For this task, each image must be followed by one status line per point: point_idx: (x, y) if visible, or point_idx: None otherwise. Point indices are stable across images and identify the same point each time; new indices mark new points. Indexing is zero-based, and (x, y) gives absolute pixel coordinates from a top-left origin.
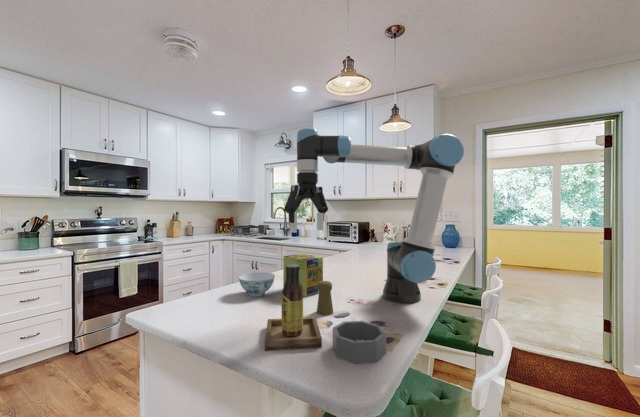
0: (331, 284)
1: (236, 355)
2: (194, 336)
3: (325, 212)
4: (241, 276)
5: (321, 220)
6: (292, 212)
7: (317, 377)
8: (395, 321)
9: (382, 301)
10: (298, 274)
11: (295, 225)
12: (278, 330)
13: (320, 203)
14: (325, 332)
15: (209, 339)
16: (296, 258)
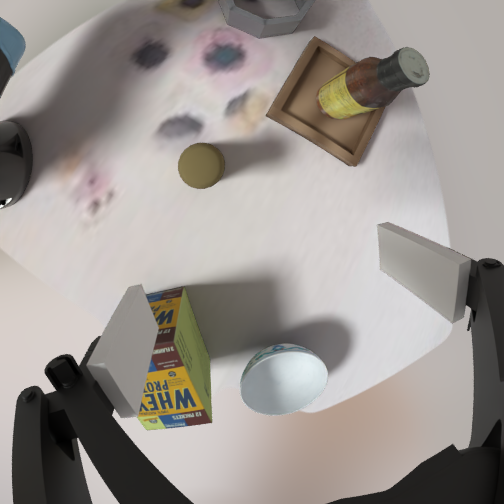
0: (186, 149)
1: (415, 111)
2: (436, 209)
3: (64, 357)
4: (309, 401)
5: (125, 327)
6: (493, 260)
7: (352, 3)
8: (113, 48)
9: (46, 158)
10: (390, 56)
11: (412, 233)
12: (348, 126)
13: (96, 452)
14: (269, 76)
15: (427, 184)
16: (191, 381)
